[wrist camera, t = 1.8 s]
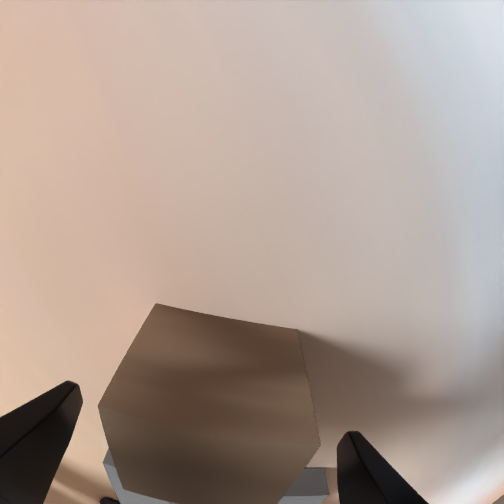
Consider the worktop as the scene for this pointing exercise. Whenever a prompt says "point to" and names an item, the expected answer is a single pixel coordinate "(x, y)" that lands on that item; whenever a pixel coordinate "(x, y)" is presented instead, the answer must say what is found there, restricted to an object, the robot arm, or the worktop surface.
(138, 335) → the walnut block
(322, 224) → the worktop surface
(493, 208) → the worktop surface
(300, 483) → the base
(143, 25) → the worktop surface
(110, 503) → the dark slate chunk
